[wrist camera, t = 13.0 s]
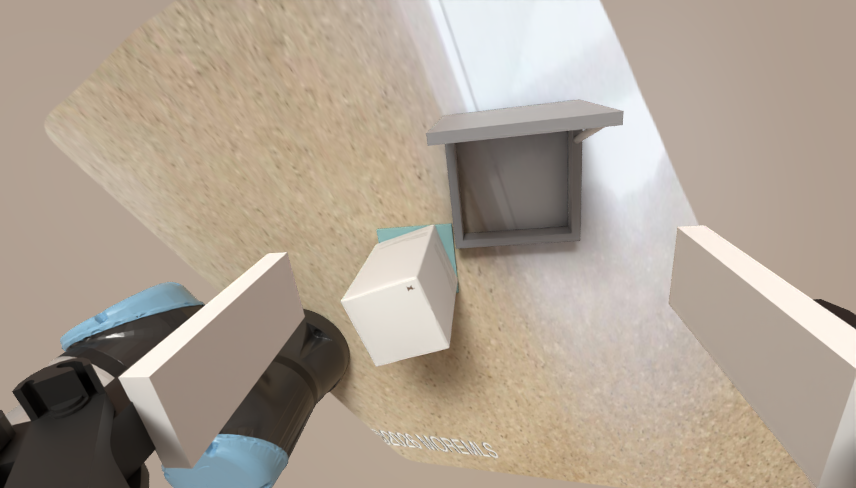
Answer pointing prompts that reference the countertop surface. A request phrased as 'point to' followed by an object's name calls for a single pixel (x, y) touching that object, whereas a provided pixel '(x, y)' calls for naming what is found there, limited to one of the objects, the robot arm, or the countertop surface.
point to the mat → (442, 229)
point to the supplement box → (404, 297)
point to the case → (518, 124)
